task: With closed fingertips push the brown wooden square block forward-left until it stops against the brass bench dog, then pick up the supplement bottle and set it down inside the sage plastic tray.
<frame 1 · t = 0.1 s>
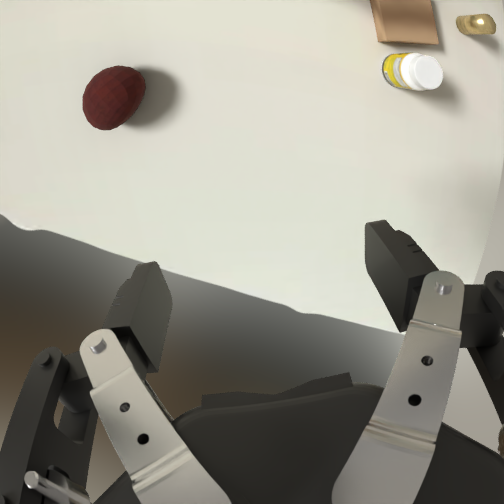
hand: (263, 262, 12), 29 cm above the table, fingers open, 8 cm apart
supplement bottle: (395, 70, 32), on the table
bench dog: (463, 25, 27), on the table
potato: (121, 94, 33), on the table
brown wooden square block: (398, 16, 28), on the table
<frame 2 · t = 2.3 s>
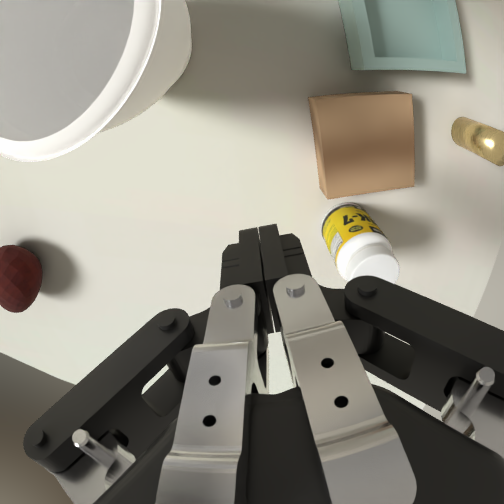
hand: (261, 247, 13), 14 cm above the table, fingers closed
tray: (395, 15, 18), on the table
jar: (141, 49, 20), on the table
supplement bottle: (343, 223, 29), on the table
bench dog: (462, 131, 23), on the table
potato: (26, 261, 29), on the table
brown wooden square block: (358, 137, 25), on the table
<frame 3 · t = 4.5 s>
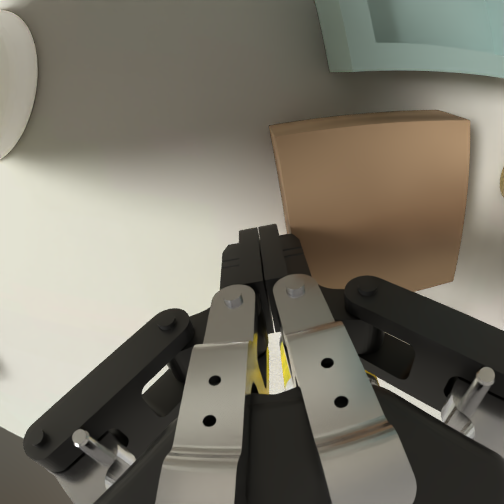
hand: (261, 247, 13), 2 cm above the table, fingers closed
supplement bottle: (316, 330, 18), on the table
brown wooden square block: (364, 194, 14), on the table, touching gripper
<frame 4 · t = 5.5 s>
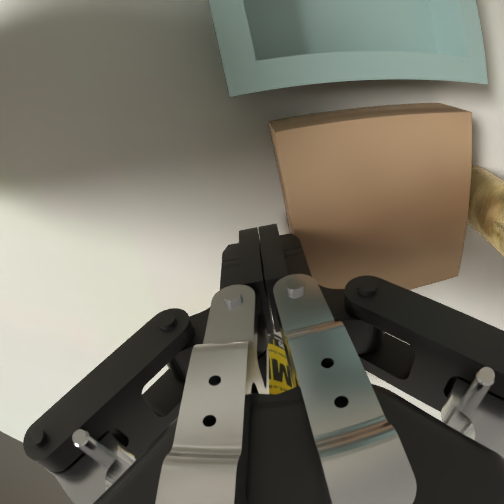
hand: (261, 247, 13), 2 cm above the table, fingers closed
supplement bottle: (249, 346, 19), on the table
bench dog: (470, 191, 13), on the table
brown wooden square block: (366, 190, 14), on the table
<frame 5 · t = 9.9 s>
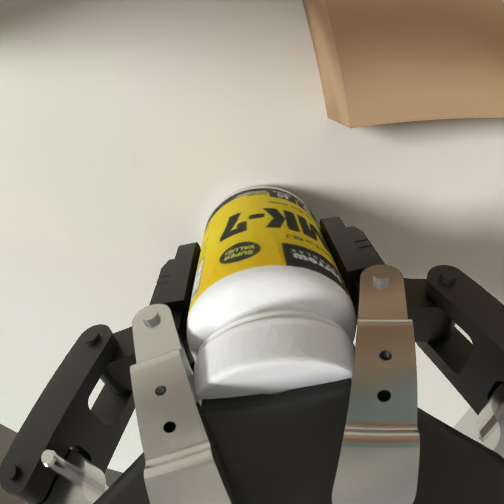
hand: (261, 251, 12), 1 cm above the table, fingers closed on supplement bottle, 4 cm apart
supplement bottle: (260, 232, 14), on the table, touching gripper
brown wooden square block: (397, 19, 9), on the table
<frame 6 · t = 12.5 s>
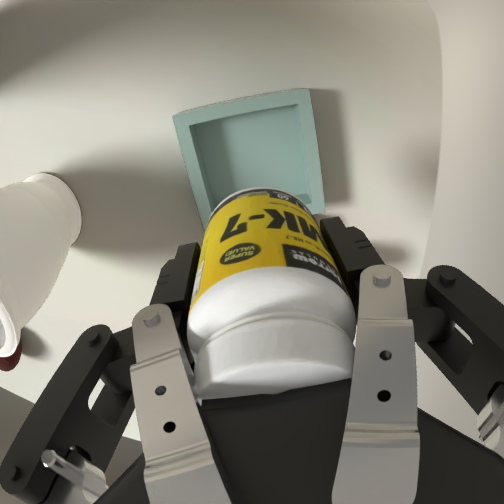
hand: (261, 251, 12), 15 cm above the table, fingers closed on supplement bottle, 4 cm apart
tray: (252, 155, 25), on the table
jar: (50, 210, 27), on the table
supplement bottle: (260, 232, 14), point 14 cm above the table, touching gripper
potato: (9, 333, 37), on the table
when the fingers open (3 cm above the table, at t = 15.1 s): supplement bottle drops 1 cm, resting on tray.
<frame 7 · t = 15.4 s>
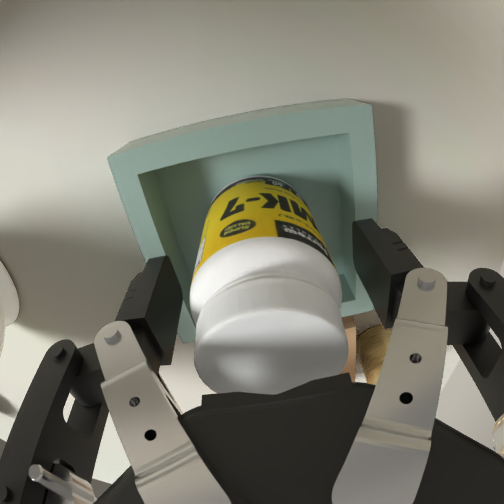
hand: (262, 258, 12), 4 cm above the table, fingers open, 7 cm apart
tray: (257, 215, 15), on the table
supplement bottle: (257, 218, 15), resting on tray
bench dog: (374, 340, 21), on the table
brown wooden square block: (288, 347, 21), on the table
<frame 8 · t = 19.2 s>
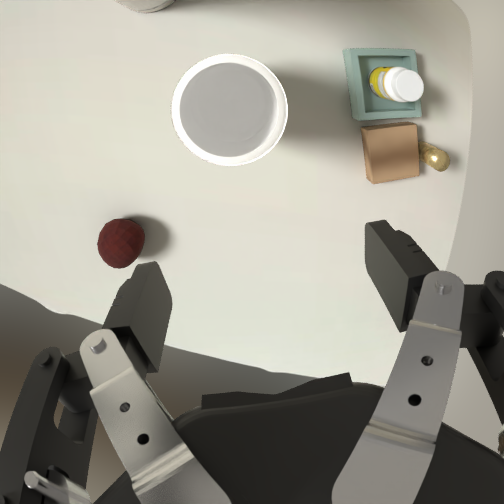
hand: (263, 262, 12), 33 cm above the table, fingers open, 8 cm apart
tray: (380, 82, 37), on the table
jar: (232, 99, 38), on the table
supplement bottle: (381, 82, 36), resting on tray
bench dog: (421, 150, 42), on the table
potato: (126, 232, 48), on the table
brown wooden square block: (386, 149, 42), on the table
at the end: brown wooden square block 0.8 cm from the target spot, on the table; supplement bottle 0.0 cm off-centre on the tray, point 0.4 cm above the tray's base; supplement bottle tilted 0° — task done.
